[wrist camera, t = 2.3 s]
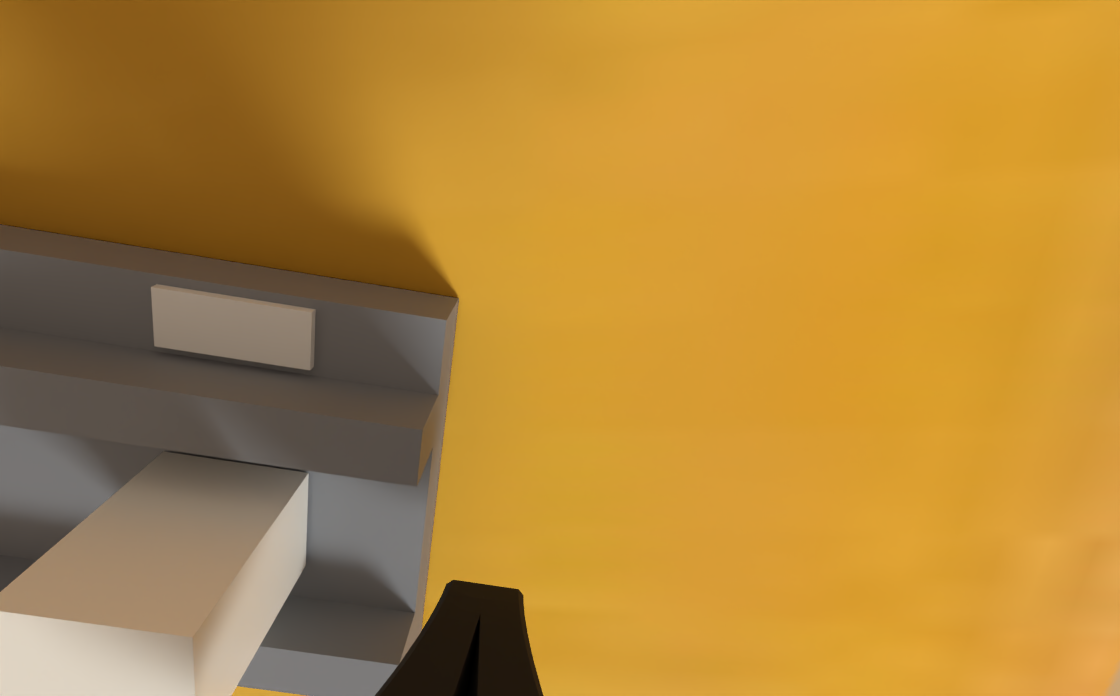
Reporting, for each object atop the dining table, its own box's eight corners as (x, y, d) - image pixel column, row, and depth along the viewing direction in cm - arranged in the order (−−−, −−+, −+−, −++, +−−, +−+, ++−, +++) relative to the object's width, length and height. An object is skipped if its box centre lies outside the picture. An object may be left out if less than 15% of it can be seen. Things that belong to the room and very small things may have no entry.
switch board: (418, 653, 18) (389, 759, 15) (-203, 568, 17) (-357, 661, 14) (458, 298, 14) (430, 348, 11) (-324, 172, 13) (-563, 191, 11)
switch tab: (305, 565, 15) (198, 753, 10) (169, 545, 14) (3, 729, 10) (308, 473, 14) (192, 637, 10) (163, 451, 14) (-19, 608, 9)
